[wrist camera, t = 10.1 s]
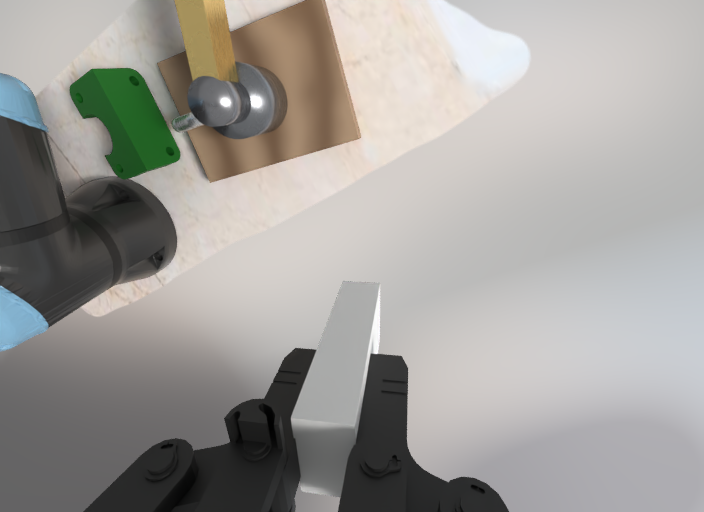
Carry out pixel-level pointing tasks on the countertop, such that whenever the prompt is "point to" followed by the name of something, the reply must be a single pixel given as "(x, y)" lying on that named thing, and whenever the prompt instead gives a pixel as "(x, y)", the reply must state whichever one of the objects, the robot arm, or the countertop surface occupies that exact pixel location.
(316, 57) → the stand
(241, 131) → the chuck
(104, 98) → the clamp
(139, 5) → the countertop surface
